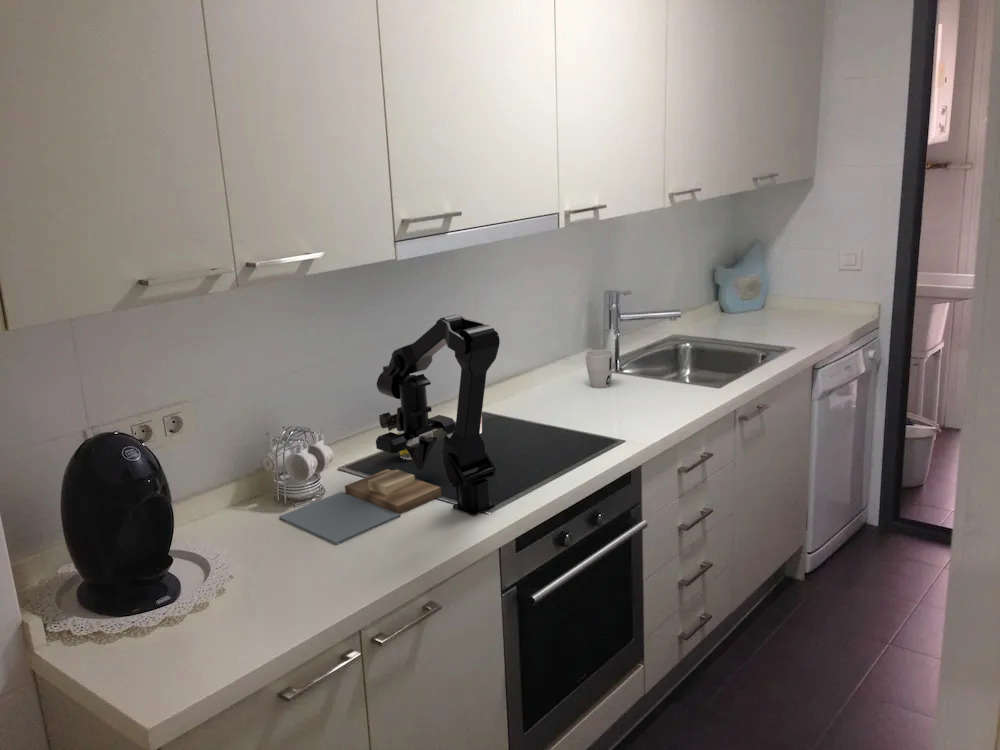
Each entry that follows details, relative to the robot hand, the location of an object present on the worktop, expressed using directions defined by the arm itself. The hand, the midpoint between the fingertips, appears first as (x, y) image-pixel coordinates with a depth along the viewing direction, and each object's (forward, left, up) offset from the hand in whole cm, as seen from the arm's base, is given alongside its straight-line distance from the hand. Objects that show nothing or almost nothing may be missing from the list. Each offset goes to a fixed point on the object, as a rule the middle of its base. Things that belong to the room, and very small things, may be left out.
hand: (419, 469), depth 200 cm
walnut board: (0, +8, -3) cm, 9 cm away
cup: (+13, -82, -3) cm, 83 cm away
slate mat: (0, +22, -3) cm, 23 cm away
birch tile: (0, +8, 0) cm, 8 cm away
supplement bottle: (+15, -10, -3) cm, 18 cm away
